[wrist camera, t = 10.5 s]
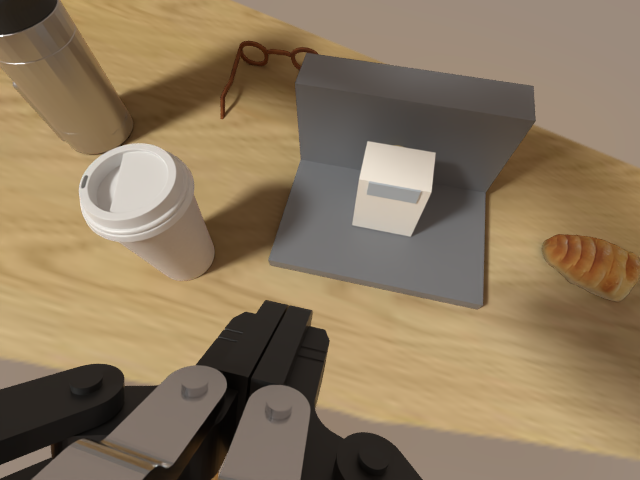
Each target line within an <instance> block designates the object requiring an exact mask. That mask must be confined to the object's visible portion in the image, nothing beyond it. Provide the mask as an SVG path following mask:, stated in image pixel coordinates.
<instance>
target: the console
mask: <svg viewBox="0 0 640 480" xmlns="http://www.w3.org/2000/svg"><path fill="white" fill-rule="evenodd" d="M295 90H296V103H297V116H298V129H299V142H300V155H301V161H300V164H299V167H298V170H297V173H296V176H295V179H294V182H293V185H292V188H291V192H290V195H289V198H288V201H287V204H286V207H285V210H284V213H283V216H282V219H281V222H280V226H279V229H278V232H277V235H276V238H275V241H274V244H273V247H272V250H271V253H270V256H269V260H268V261H269V264H270V265H271V266H276V267H280V268H285V269H290V270H295V271H299V272H304V273H309V274H313V275H318V276H323V277H327V278H332V279H337V280H341V281H346V282H351V283H356V284H360V285H365V286H370V287H374V288H379V289H384V290H388V291H393V292H398V293H403V294H407V295H412V296H417V297H421V298H426V299H431V300H435V301H440V302H445V303H449V304H454V305H459V306H464V307H468V308H473V309H479V308H480V307H481V306H483V280H484V237H485V195H486V191H487V190H488V188H489V187H490V186H491V184H492V183H493V181H494V180H495V178H496V177H497V176H498V174H499V173H500V171H501V170H502V168H503V167H504V165H505V164H506V163H507V161H508V160H509V158H510V157H511V155H512V154H513V153H514V151H515V150H516V148H517V147H518V145H519V144H520V143H521V141H522V140H523V138H524V137H525V135H526V134H527V132H528V131H529V130H530V128H531V127H532V125H533V124H534V122H535V121H536V120H535V104H534V87H533V86H530V85H523V84H516V83H509V82H503V81H496V80H489V79H482V78H475V77H469V76H462V75H455V74H448V73H441V72H434V71H427V70H421V69H414V68H407V67H400V66H394V65H387V64H380V63H373V62H366V61H359V60H353V59H346V58H339V57H332V56H325V55H318V54H312V53H306V56H305V58H304V61H303V64H302V66H301V69H300V71H299V74H298V77H297V79H296V82H295ZM367 141H370V142H376V143H381V144H387V145H393V146H399V147H405V148H411V149H417V150H423V151H428V152H434V153H436V154H435V164H434V173H433V182H432V192H431V194H430V197H429V199H428V201H427V203H426V205H425V207H424V209H423V212H422V214H421V216H420V218H419V220H418V222H417V224H416V227H415V229H414V231H413V233H412V235H411V237H410V236H405V235H400V234H394V233H389V232H384V231H379V230H374V229H369V228H364V227H359V226H354V225H352V223H353V216H354V209H355V203H356V196H357V190H358V183H359V177H360V173H361V168H362V164H363V159H364V155H365V150H366V146H367Z"/></svg>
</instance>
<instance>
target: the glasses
mask: <svg viewBox="0 0 640 480" xmlns="http://www.w3.org/2000/svg"><path fill="white" fill-rule="evenodd" d="M245 46H254V47H257V48H259V49H260V50H261V51H262V52H263V53H264V55H265V59H264V61H261V62H255V61H252V60H250V59H248V58H247V57H246V56H245V55H244V53H243V47H245ZM300 52H307V53H312V54H318V53H317V52H316V51H314V50H312V49H310V48H305V47H300V48H296V49H294V50H293V51H292V52H291V53H290V52H288V51H285V50H276V49H270V50H267V49H266V48H265V47H264V46H262V45H261V44H259V43H257V42H253V41H244V42H242V43H241V44H240V46H239V49H238V52H237V56H236V59H235V62H234V66H233V69H232V72H231V76H230V79H229V82H228V83H227V85H226V86H225V88H224V90H223V92H222V95H221V97H220V100H221V119H223V118H224V116H225V96H226V94H227V92H228V90H229V88H230V87H231V85H232V83H233V80H234V76H235V73H236V70H237V66H238V63H239V59H240V56H241V58H242V59H243V60H244V61H245V62H247V63H248V64H251V65H259V66H264V65H266V64H267V62H268V54H278V55H286V56H289V57H291V60H292V63H293V65H294V66H295V67H296V68H297V69H298V70H300V69H301V66H300V65H299V64H298V63H297V62H296V60H295V55H296V54H297V53H300ZM318 55H319V54H318Z"/></svg>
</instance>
